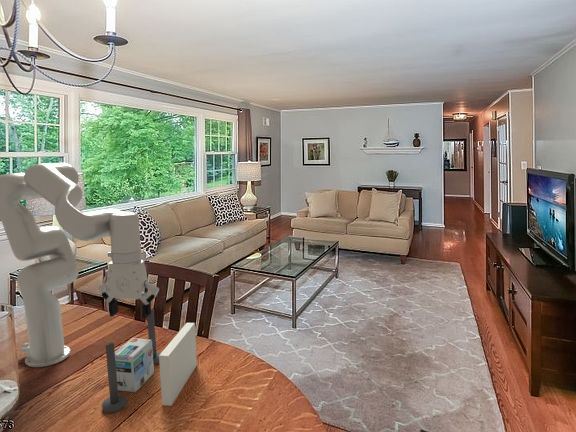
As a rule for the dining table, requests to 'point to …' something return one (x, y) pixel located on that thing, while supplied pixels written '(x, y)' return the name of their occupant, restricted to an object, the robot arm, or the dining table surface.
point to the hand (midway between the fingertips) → (130, 315)
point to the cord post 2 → (153, 336)
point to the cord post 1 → (113, 384)
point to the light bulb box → (134, 364)
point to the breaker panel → (177, 363)
